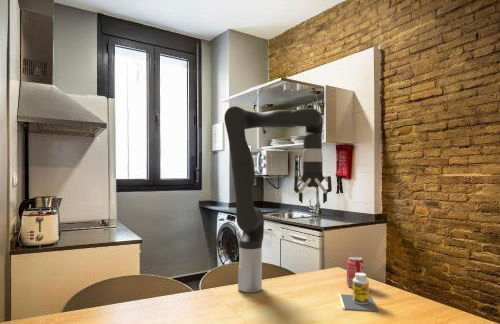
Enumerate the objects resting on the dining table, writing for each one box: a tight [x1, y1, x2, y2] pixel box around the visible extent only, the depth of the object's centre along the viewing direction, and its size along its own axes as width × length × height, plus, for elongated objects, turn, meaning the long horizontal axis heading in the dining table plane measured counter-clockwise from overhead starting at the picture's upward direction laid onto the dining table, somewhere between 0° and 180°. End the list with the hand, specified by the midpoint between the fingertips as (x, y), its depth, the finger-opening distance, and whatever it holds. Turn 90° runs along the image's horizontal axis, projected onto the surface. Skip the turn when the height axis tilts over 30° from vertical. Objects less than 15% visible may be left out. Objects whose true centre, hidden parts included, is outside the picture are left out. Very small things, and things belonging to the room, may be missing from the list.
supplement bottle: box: [352, 272, 370, 305], centre depth 124 cm, size 6×6×10 cm
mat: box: [337, 292, 380, 313], centre depth 124 cm, size 12×14×1 cm
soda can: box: [346, 255, 365, 289], centre depth 142 cm, size 7×7×12 cm
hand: (312, 202), depth 130 cm, fingers open, 8 cm apart
